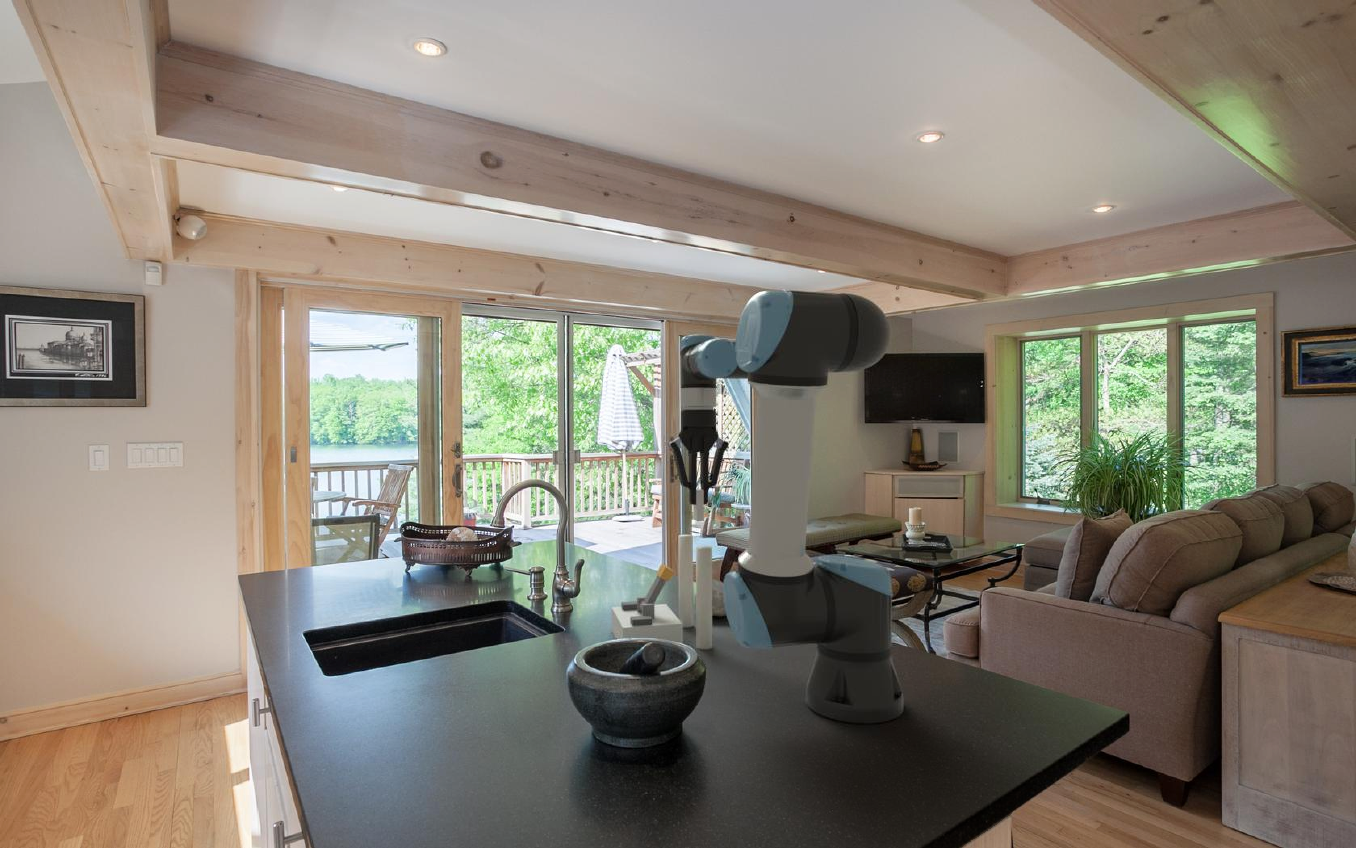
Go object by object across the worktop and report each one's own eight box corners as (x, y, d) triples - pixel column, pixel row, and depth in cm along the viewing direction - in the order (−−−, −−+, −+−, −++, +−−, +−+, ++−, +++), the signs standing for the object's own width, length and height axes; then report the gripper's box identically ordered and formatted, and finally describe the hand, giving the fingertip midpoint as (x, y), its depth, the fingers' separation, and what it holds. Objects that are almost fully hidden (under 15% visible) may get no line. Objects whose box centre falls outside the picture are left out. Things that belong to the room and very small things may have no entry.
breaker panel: (682, 648, 144) (682, 608, 144) (623, 653, 141) (622, 612, 141) (665, 626, 159) (665, 590, 159) (611, 630, 157) (611, 593, 157)
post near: (714, 648, 144) (713, 548, 144) (698, 650, 143) (698, 549, 143) (709, 644, 147) (709, 545, 147) (694, 645, 146) (694, 546, 146)
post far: (694, 627, 159) (694, 536, 159) (680, 628, 158) (680, 537, 158) (691, 623, 162) (690, 534, 162) (677, 624, 161) (676, 534, 161)
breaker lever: (649, 617, 148) (673, 571, 149) (640, 612, 148) (665, 567, 149) (645, 612, 152) (669, 567, 153) (637, 607, 152) (661, 563, 153)
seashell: (727, 606, 159) (738, 557, 171) (680, 612, 164) (694, 564, 176) (743, 633, 164) (752, 584, 175) (697, 638, 168) (709, 590, 180)
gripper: (723, 409, 158) (723, 516, 158) (664, 408, 155) (664, 518, 155) (733, 408, 150) (733, 521, 151) (672, 408, 148) (672, 523, 148)
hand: (698, 519), depth 153 cm, fingers closed
